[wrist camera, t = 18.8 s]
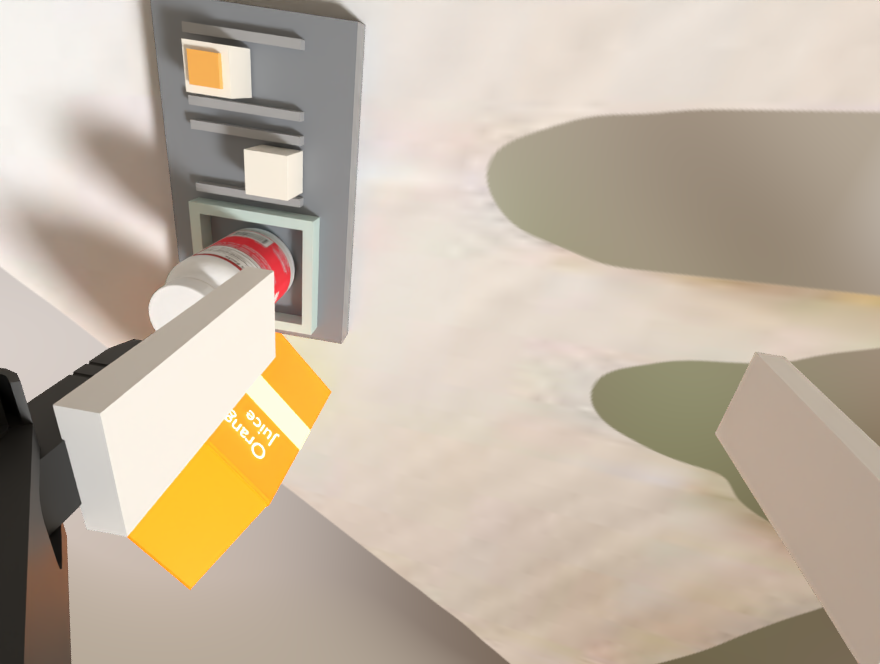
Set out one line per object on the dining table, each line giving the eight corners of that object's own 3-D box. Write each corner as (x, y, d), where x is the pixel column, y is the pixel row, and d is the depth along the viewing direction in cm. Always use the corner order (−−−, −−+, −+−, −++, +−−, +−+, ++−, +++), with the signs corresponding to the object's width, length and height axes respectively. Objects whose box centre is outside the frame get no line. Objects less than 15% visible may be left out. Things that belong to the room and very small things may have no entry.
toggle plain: (262, 144, 36) (243, 149, 33) (302, 150, 36) (287, 156, 33) (263, 186, 37) (245, 193, 35) (302, 192, 37) (287, 200, 34)
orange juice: (272, 321, 45) (124, 475, 27) (332, 391, 48) (234, 573, 30) (214, 359, 48) (44, 522, 30) (275, 424, 50) (152, 609, 33)
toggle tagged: (206, 42, 33) (177, 37, 30) (250, 48, 33) (225, 45, 30) (210, 91, 35) (182, 91, 32) (251, 97, 35) (228, 98, 32)
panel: (167, -5, 34) (134, -14, 31) (365, 24, 34) (351, 18, 31) (197, 307, 45) (175, 324, 42) (347, 333, 45) (336, 351, 42)
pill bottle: (249, 307, 42) (174, 374, 32) (209, 242, 40) (115, 293, 30) (311, 283, 41) (251, 346, 31) (273, 214, 38) (195, 258, 28)
